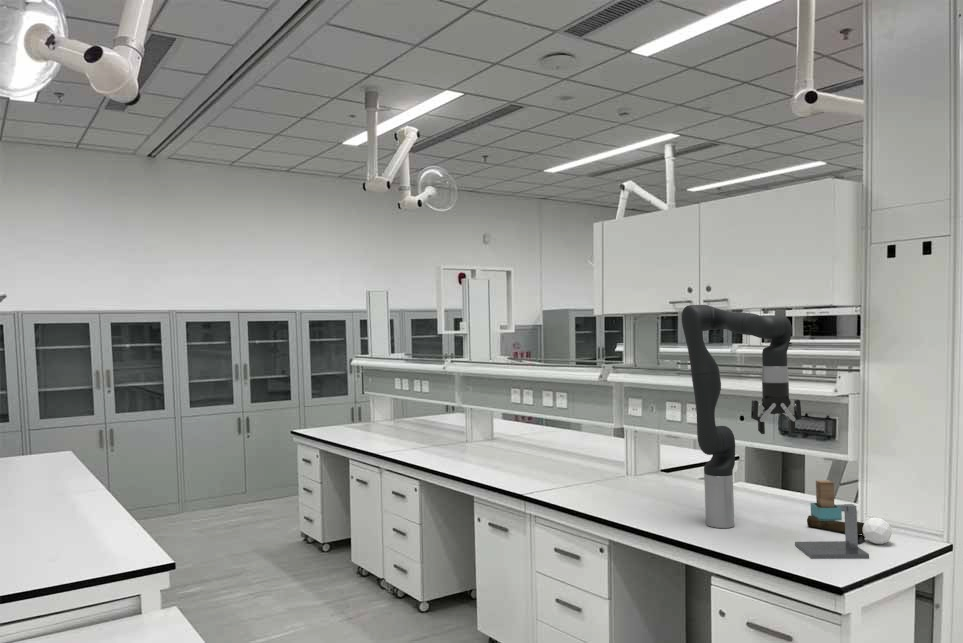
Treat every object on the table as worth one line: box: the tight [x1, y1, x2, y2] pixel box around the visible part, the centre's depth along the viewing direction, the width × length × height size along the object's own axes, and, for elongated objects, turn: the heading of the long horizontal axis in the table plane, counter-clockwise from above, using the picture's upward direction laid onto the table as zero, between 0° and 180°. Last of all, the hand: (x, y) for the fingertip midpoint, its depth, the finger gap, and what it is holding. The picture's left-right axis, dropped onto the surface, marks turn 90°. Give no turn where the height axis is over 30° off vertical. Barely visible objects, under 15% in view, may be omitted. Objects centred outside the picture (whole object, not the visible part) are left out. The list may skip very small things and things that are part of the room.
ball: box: [862, 517, 893, 545], centre depth 208 cm, size 8×8×8 cm
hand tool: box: [806, 514, 865, 535], centre depth 220 cm, size 19×4×5 cm, turn 38°
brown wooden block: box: [815, 479, 835, 508], centre depth 201 cm, size 4×4×10 cm
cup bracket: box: [794, 502, 870, 560], centre depth 201 cm, size 12×16×14 cm
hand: (776, 433), depth 209 cm, fingers open, 8 cm apart
